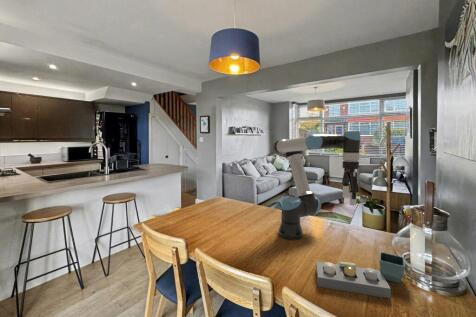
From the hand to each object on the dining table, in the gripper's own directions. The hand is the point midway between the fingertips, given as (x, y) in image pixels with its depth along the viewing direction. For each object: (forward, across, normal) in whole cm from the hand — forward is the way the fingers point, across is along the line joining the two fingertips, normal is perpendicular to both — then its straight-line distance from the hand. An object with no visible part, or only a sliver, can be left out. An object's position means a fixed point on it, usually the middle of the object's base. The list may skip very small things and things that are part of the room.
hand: (348, 201), depth 113 cm
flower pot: (+28, -19, -13) cm, 36 cm away
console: (+28, -26, +5) cm, 39 cm away
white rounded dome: (+27, -26, -3) cm, 37 cm away
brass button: (+27, -26, +5) cm, 37 cm away
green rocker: (+24, -21, +5) cm, 33 cm away
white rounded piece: (+27, -25, +13) cm, 39 cm away
